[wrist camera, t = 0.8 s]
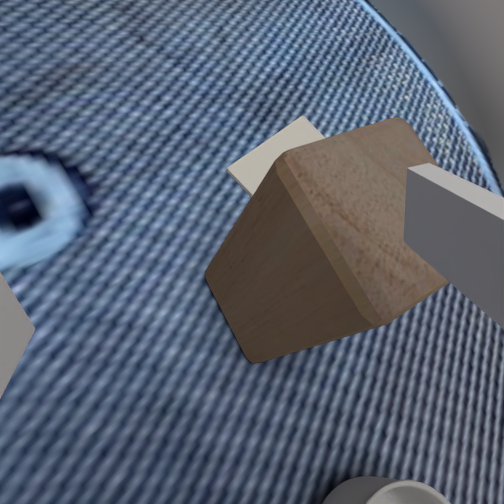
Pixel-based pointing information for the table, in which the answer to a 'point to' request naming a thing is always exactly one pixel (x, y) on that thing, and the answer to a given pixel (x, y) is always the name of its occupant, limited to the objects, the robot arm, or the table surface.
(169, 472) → the table surface
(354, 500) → the teacup
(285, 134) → the mat
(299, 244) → the wooden block
